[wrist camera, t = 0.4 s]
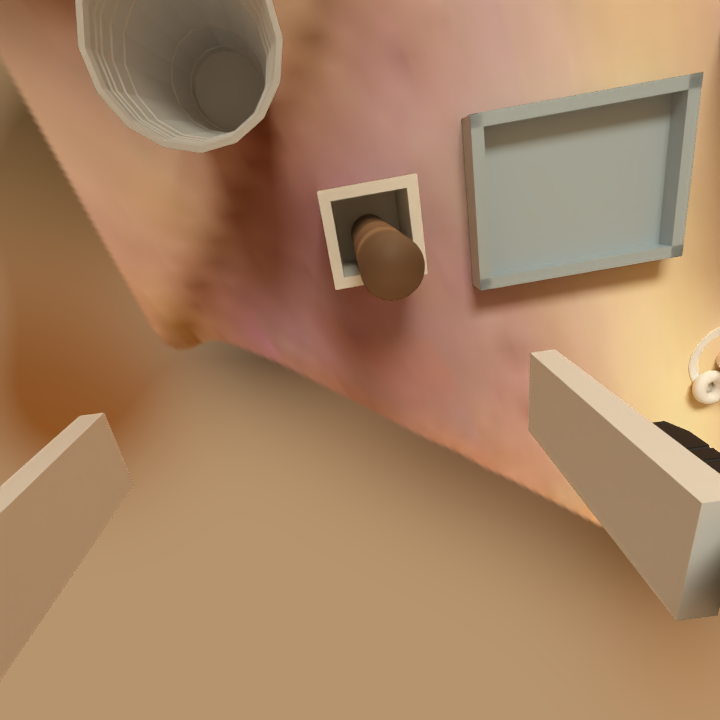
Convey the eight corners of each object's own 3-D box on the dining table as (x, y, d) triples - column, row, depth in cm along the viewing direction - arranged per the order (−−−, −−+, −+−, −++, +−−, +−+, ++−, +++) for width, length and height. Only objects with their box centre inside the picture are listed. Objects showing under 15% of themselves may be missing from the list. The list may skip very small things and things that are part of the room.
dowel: (348, 217, 37) (354, 240, 20) (384, 211, 37) (421, 229, 20) (354, 254, 38) (365, 305, 22) (389, 248, 38) (428, 294, 22)
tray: (461, 119, 35) (470, 114, 33) (679, 79, 35) (703, 71, 33) (472, 284, 41) (480, 290, 38) (662, 252, 40) (681, 255, 38)
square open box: (321, 190, 37) (316, 191, 30) (401, 176, 37) (416, 173, 29) (336, 271, 40) (335, 290, 32) (411, 258, 39) (427, 273, 32)
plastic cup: (328, 82, 34) (323, 30, 23) (248, 192, 37) (208, 194, 26) (212, -34, 31) (141, -158, 20) (134, 96, 34) (34, 50, 23)
